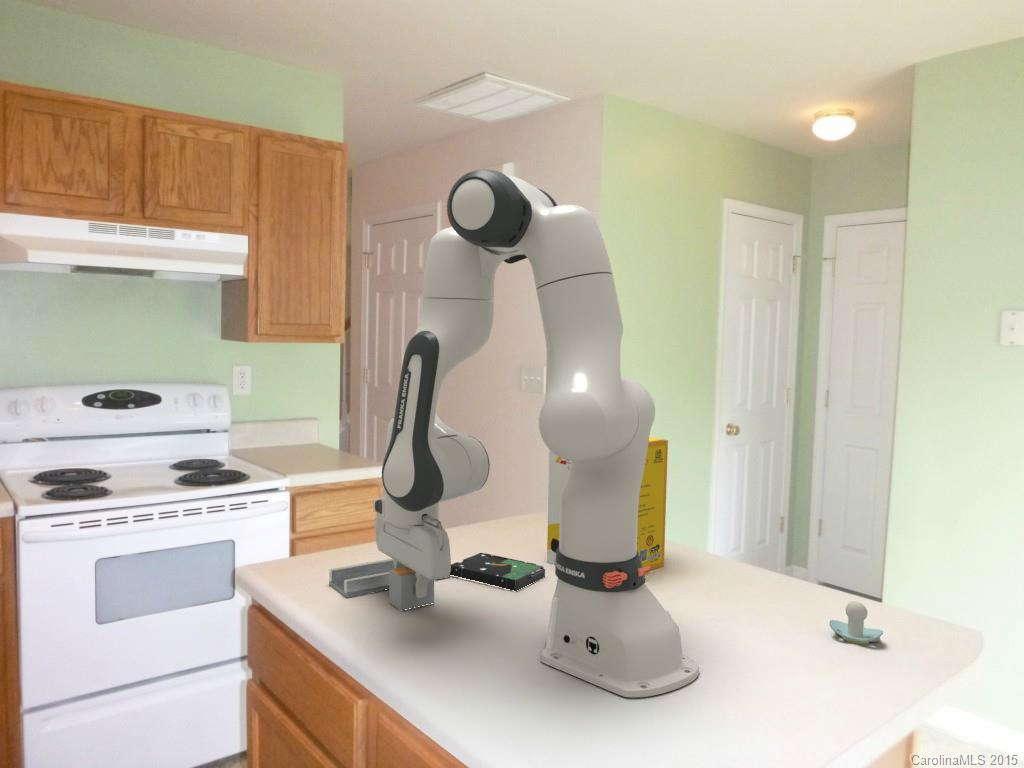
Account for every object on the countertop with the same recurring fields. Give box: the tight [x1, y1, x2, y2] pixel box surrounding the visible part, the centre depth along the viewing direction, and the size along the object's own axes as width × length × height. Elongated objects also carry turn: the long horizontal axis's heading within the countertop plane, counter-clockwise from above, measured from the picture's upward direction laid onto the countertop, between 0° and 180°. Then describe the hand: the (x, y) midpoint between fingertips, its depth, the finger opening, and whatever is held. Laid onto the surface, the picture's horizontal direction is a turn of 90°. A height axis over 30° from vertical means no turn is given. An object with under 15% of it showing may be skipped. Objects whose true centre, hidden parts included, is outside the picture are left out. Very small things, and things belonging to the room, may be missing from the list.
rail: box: [328, 558, 450, 599], centre depth 136 cm, size 8×20×3 cm, turn 125°
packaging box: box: [546, 436, 669, 573], centre depth 148 cm, size 16×16×25 cm
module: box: [388, 567, 435, 611], centre depth 125 cm, size 4×6×6 cm
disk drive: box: [450, 552, 546, 592], centre depth 140 cm, size 10×3×15 cm
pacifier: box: [828, 600, 884, 645], centre depth 114 cm, size 7×6×6 cm
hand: (411, 591), depth 125 cm, fingers closed on module, 4 cm apart
